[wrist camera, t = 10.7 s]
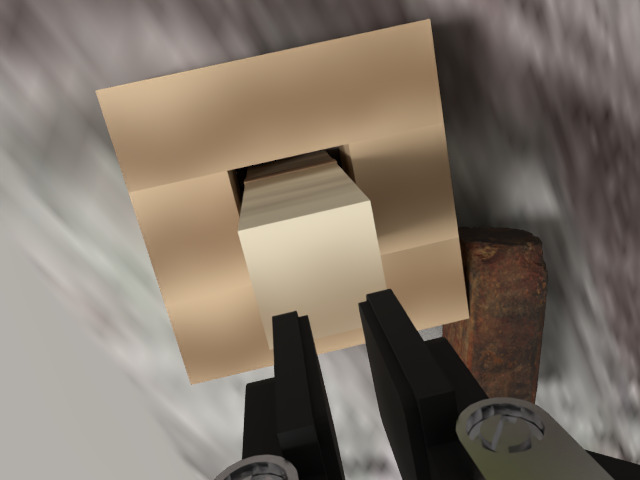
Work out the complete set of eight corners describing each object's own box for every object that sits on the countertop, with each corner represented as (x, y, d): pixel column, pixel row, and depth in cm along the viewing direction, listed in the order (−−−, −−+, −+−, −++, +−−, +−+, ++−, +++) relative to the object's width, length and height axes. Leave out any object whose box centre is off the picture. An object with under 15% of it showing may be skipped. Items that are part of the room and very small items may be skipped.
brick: (498, 388, 33) (536, 436, 28) (436, 393, 32) (464, 443, 28) (513, 221, 29) (558, 246, 25) (444, 225, 29) (477, 250, 25)
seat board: (120, 88, 25) (95, 90, 21) (405, 28, 26) (429, 18, 22) (200, 345, 29) (191, 384, 26) (442, 288, 30) (469, 318, 26)
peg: (246, 166, 27) (235, 230, 15) (325, 148, 27) (371, 198, 16) (266, 241, 28) (268, 351, 17) (340, 224, 28) (394, 321, 17)
